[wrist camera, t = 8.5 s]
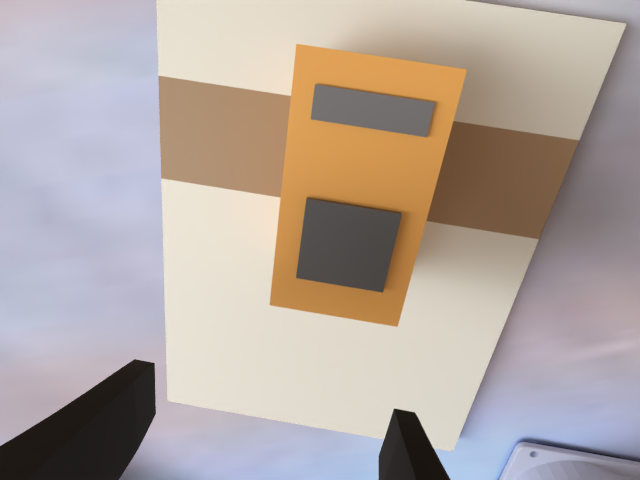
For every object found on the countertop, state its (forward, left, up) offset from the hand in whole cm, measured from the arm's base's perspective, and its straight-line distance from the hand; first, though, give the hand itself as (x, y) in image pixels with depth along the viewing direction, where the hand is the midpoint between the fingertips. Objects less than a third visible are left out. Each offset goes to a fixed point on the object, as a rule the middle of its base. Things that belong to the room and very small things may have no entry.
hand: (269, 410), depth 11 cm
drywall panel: (-1, -1, -9) cm, 10 cm away
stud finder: (-2, -6, -8) cm, 10 cm away
